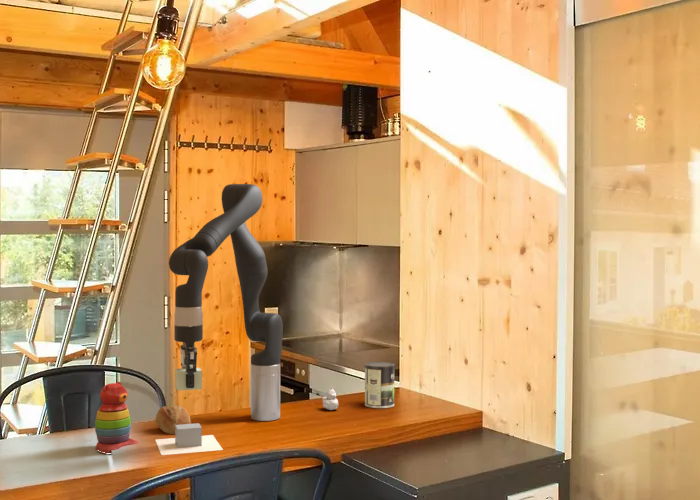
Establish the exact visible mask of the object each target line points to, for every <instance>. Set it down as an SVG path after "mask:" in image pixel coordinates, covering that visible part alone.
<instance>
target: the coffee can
mask: <svg viewBox="0 0 700 500" xmlns="http://www.w3.org/2000/svg"><path fill="white" fill-rule="evenodd" d="M395 366H396V364H395V363H393V362H388V361H369V362H365V363H364V406H365V407H367V408H369V409H370V408H372V409H388V408H393V407H395V405H396V404H395Z"/></svg>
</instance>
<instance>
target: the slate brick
mask: <svg viewBox="0 0 700 500" xmlns="http://www.w3.org/2000/svg"><path fill="white" fill-rule="evenodd" d="M202 429H203V427H202V426H201V424H200V423H199V422H198V423H197V422H196V423H191V424H182V425H175V434H174V435H175V436H174V438H175V444H176V446H177V448H183V447H195V446H202V436H203V435H202V432H203V430H202Z"/></svg>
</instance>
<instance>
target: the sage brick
mask: <svg viewBox="0 0 700 500" xmlns="http://www.w3.org/2000/svg"><path fill="white" fill-rule="evenodd" d="M174 370H175V375H174V376H175V379H174V380H175V381H174V383H175V384H174V385H175V389H176V390H177V392H179V391H192V390H193V391H194V390H195V391H196V390H203V371H202V369H201V368H200V367H196V370H197V371H196V373H195V374H194V388H186V373H185V368H182V367H181V368H175V369H174Z"/></svg>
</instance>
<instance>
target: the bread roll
mask: <svg viewBox="0 0 700 500" xmlns="http://www.w3.org/2000/svg"><path fill="white" fill-rule="evenodd" d="M154 420H155V423H156V425H157V427H158V428H159V429H160V431H162V432H164V433H166V434H168V435H175V425H182V424H192V422H191V417H190V414H189V413H188V411H187V409H185V408H184V407H183V406H182V405H181V406H180V405H176V404H175V405H165V406H161V407H160V408H159V409H158V411H157V412H156V415H155V419H154Z"/></svg>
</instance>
